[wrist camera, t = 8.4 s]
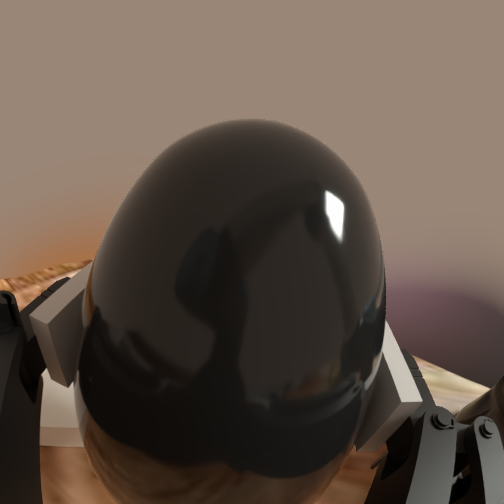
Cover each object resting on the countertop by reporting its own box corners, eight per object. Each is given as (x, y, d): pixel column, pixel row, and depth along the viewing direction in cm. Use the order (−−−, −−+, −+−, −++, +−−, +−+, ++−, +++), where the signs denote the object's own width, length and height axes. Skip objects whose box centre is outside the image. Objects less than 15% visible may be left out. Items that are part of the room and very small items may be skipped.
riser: (96, 338, 32) (93, 314, 30) (106, 446, 19) (98, 427, 18) (-5, 336, 25) (-14, 312, 23) (-27, 434, 12) (-45, 412, 10)
